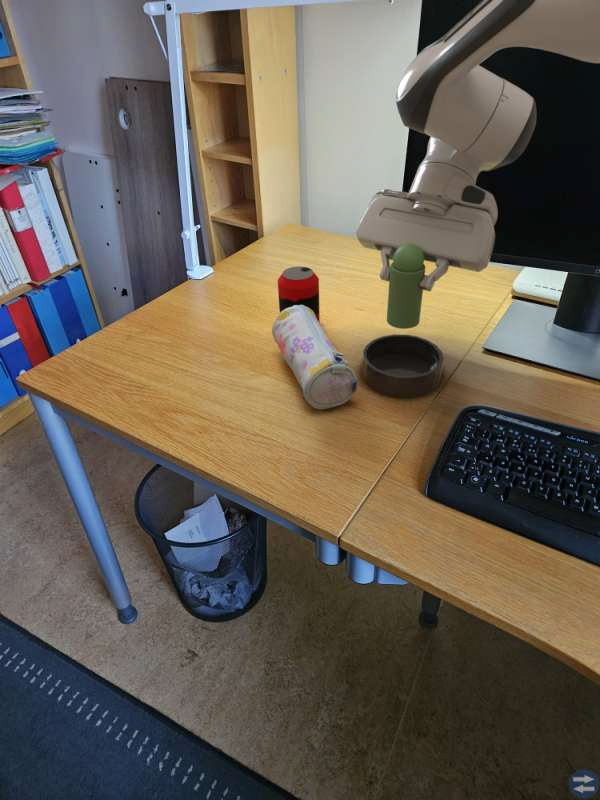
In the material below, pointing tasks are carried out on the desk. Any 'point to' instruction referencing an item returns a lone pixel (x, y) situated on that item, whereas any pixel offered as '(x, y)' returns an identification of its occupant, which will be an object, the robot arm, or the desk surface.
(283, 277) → the soda can
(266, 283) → the desk surface
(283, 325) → the pencil case
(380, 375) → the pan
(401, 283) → the green dome-topped cylinder
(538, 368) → the desk surface
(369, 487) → the desk surface
